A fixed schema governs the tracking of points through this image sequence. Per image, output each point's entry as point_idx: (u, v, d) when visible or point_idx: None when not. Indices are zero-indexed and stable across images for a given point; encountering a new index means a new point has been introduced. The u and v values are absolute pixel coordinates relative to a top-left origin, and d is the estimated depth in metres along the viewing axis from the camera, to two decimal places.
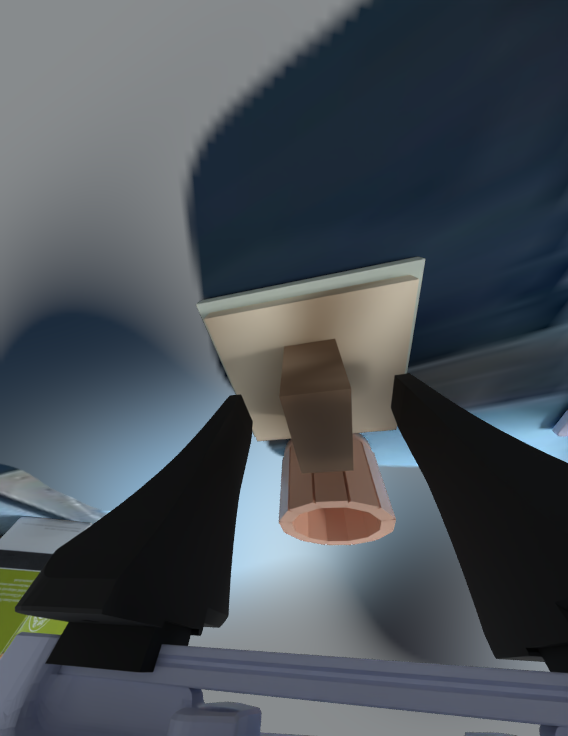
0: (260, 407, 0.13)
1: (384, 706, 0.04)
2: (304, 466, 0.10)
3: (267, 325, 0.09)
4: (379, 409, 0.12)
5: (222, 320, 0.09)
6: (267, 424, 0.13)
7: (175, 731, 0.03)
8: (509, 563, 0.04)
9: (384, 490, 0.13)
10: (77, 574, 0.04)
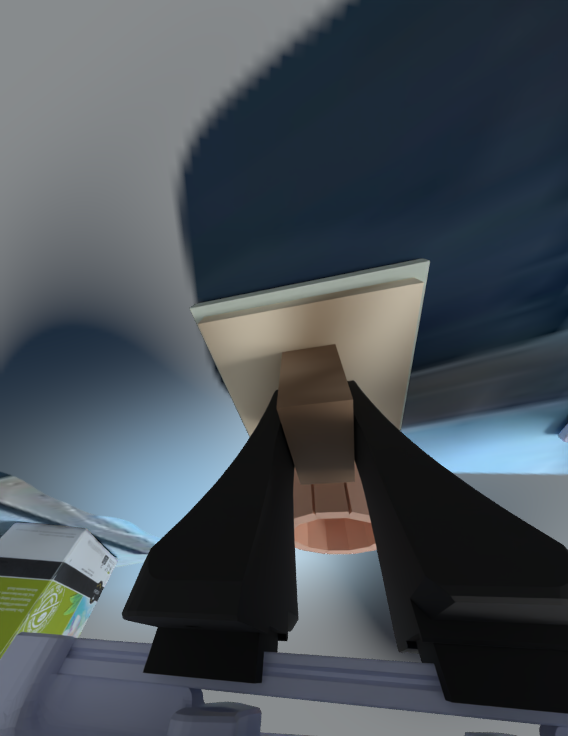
0: (257, 413, 0.12)
1: (384, 706, 0.04)
2: (303, 477, 0.09)
3: (264, 330, 0.09)
4: None
5: (217, 325, 0.09)
6: None
7: (175, 731, 0.03)
8: (394, 562, 0.05)
9: None
10: (192, 576, 0.04)
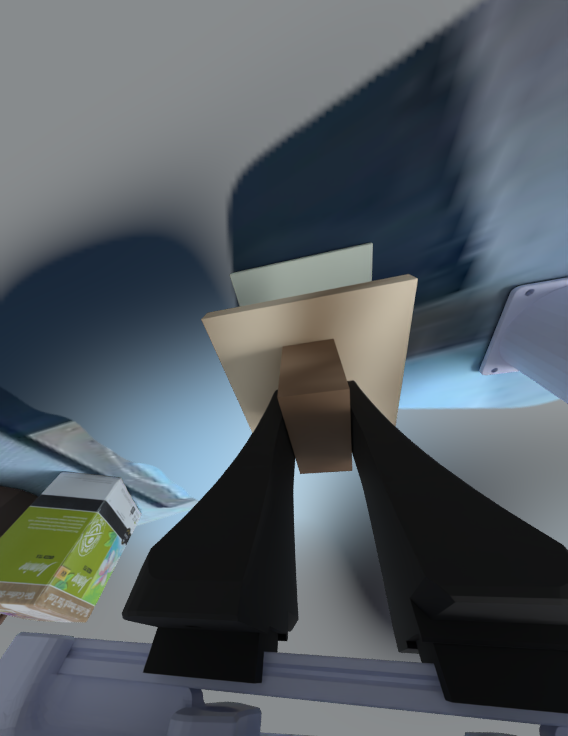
0: (258, 407, 0.12)
1: (384, 706, 0.04)
2: (303, 466, 0.10)
3: (265, 325, 0.09)
4: None
5: (220, 320, 0.09)
6: None
7: (175, 731, 0.03)
8: (394, 563, 0.05)
9: None
10: (192, 576, 0.04)
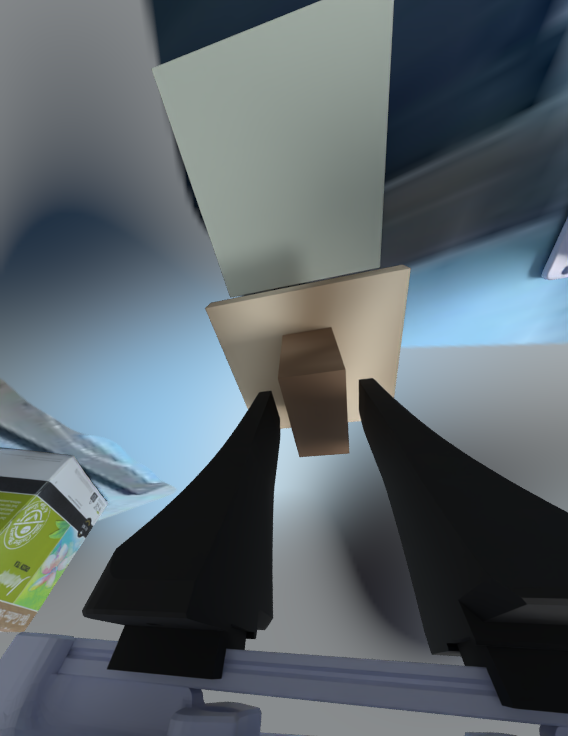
0: None
1: (384, 706, 0.04)
2: (302, 449, 0.10)
3: (266, 314, 0.10)
4: None
5: (223, 309, 0.10)
6: None
7: (175, 731, 0.03)
8: (432, 563, 0.05)
9: None
10: (149, 575, 0.04)
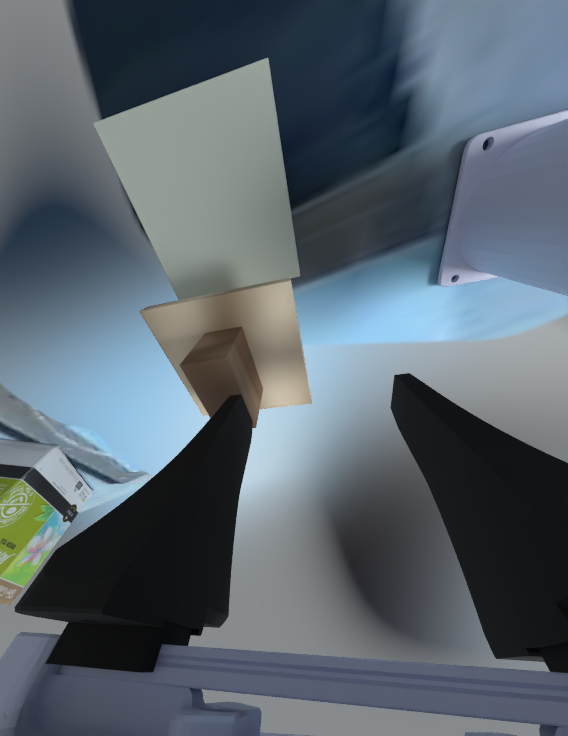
0: None
1: (384, 706, 0.04)
2: None
3: (188, 316, 0.12)
4: (293, 385, 0.15)
5: (153, 312, 0.12)
6: None
7: (175, 731, 0.03)
8: (509, 563, 0.04)
9: None
10: (78, 574, 0.04)
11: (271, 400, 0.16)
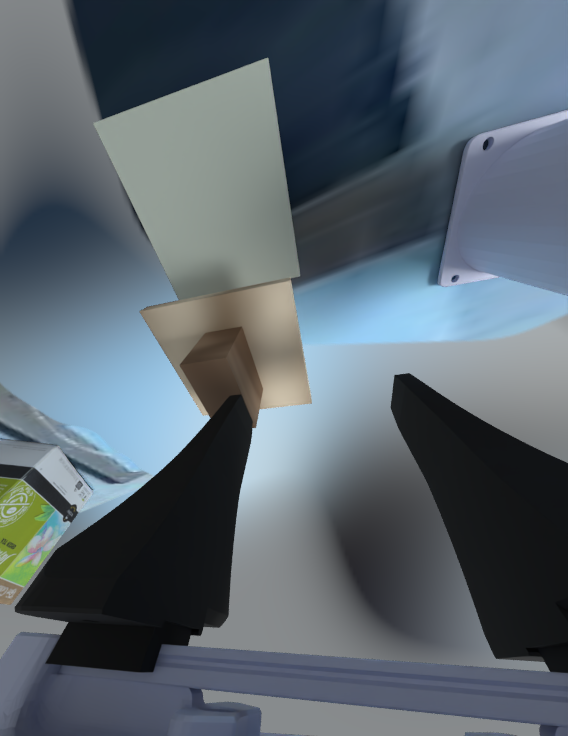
0: None
1: (384, 706, 0.04)
2: None
3: (188, 316, 0.12)
4: (293, 385, 0.15)
5: (153, 312, 0.12)
6: None
7: (175, 731, 0.03)
8: (509, 563, 0.04)
9: None
10: (78, 574, 0.04)
11: (271, 400, 0.16)
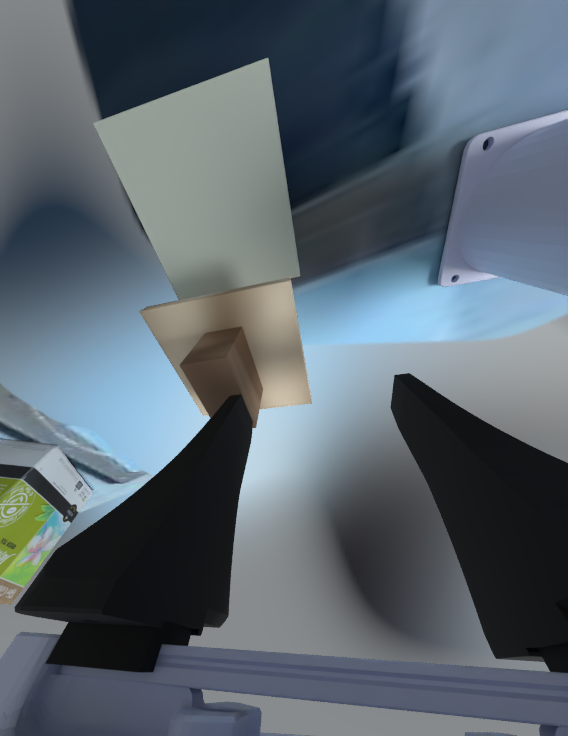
0: None
1: (384, 706, 0.04)
2: None
3: (188, 316, 0.12)
4: (293, 385, 0.15)
5: (153, 312, 0.12)
6: None
7: (175, 731, 0.03)
8: (509, 563, 0.04)
9: None
10: (78, 574, 0.04)
11: (271, 400, 0.16)
